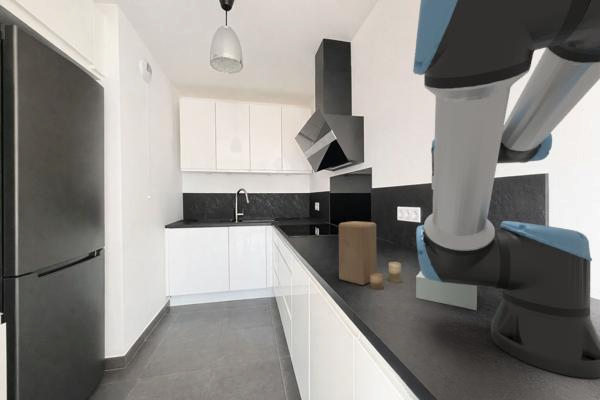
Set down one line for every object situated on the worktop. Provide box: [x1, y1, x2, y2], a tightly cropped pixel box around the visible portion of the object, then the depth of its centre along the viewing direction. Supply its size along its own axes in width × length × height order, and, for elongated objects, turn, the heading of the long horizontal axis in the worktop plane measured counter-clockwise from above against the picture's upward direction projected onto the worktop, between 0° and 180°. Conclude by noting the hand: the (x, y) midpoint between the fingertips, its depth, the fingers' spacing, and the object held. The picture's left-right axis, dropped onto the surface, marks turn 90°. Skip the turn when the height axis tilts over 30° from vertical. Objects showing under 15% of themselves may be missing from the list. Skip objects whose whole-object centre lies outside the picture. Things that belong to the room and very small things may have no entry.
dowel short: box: [369, 273, 384, 291], centre depth 79 cm, size 4×4×4 cm
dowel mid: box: [388, 261, 402, 284], centre depth 85 cm, size 4×4×6 cm
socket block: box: [415, 270, 478, 311], centre depth 72 cm, size 14×14×6 cm
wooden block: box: [338, 220, 378, 286], centre depth 87 cm, size 10×10×20 cm
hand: (447, 263), depth 72 cm, fingers open, 13 cm apart
